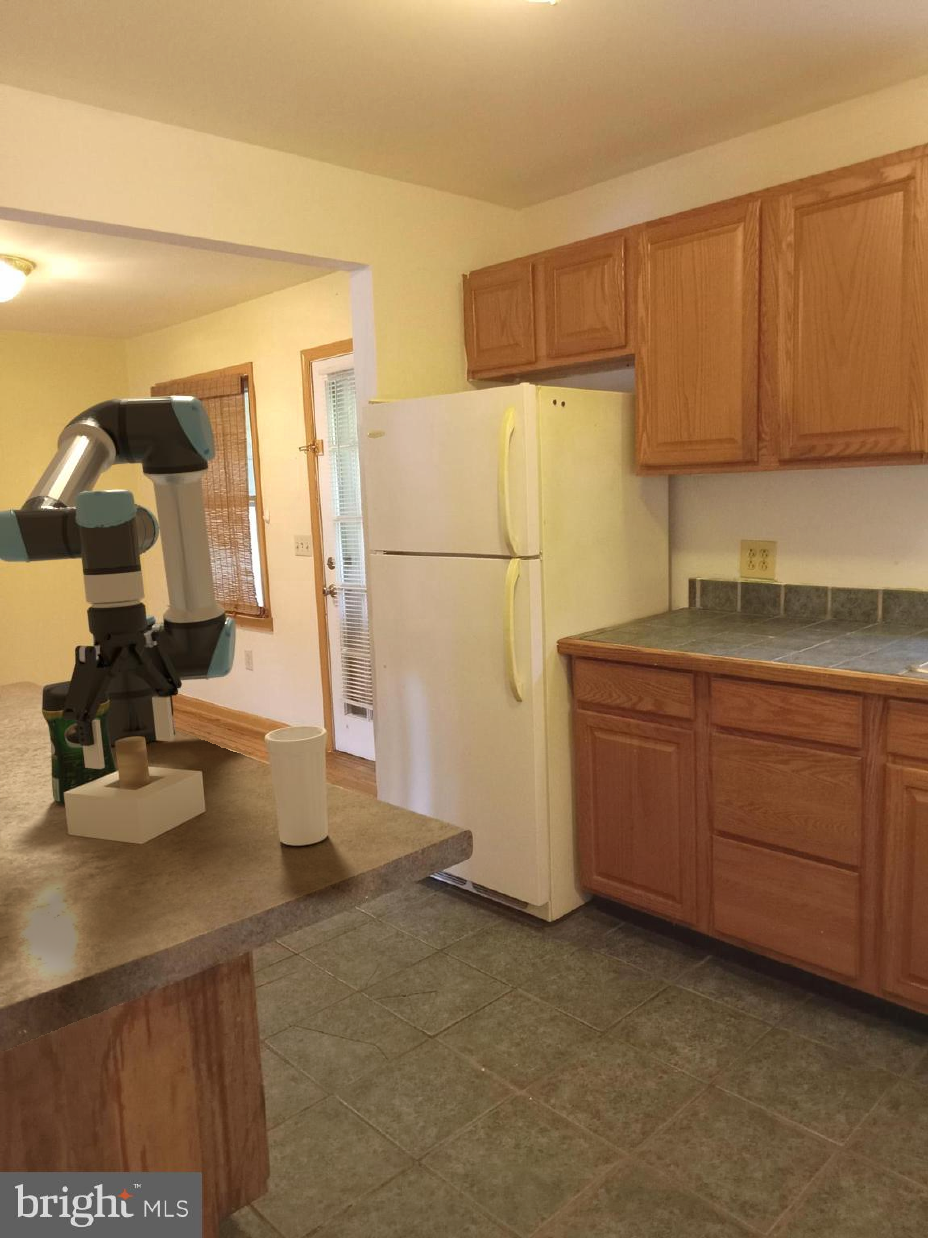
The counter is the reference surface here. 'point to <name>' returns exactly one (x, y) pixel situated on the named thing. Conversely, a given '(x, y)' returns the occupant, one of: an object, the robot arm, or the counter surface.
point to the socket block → (134, 806)
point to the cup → (299, 782)
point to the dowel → (132, 762)
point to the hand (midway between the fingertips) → (131, 753)
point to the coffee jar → (72, 743)
